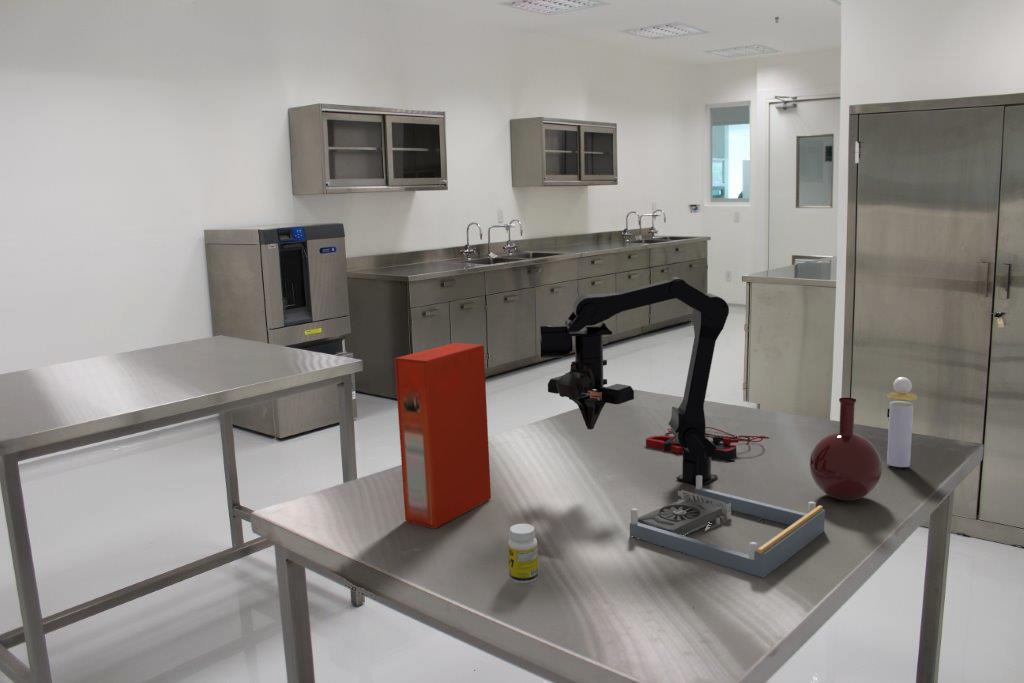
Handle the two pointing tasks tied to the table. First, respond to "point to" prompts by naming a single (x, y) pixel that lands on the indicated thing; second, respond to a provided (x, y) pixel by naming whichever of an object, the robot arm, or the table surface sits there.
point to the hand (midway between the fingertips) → (590, 429)
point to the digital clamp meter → (722, 449)
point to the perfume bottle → (900, 423)
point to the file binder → (443, 432)
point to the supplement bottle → (523, 554)
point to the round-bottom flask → (845, 460)
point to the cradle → (757, 560)
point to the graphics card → (688, 514)
